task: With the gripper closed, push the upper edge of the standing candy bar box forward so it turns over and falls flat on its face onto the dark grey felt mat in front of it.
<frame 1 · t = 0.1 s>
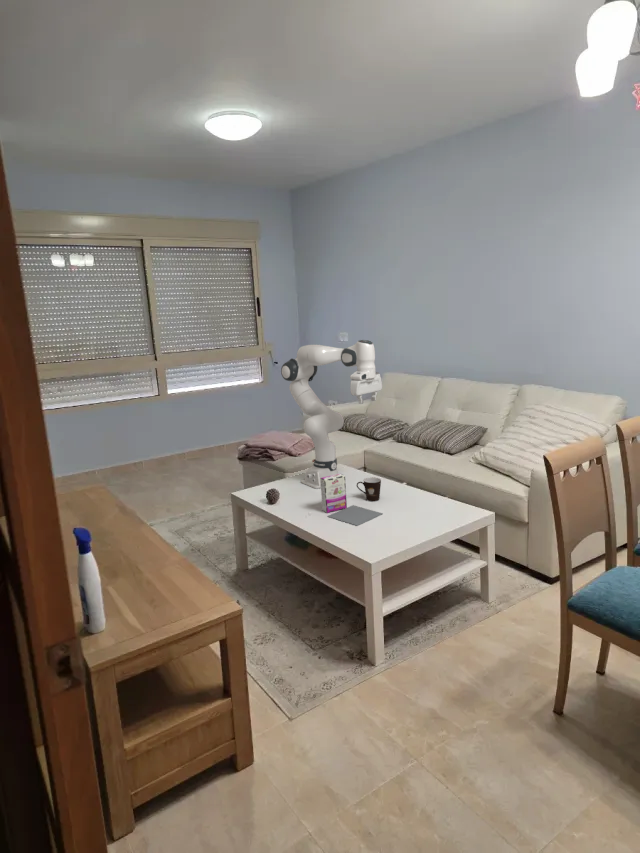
hand: (367, 402, 277), 48 cm above the table, fingers open, 8 cm apart
mat: (355, 515, 261), on the table
coffee mug: (370, 499, 282), on the table
candy bar box: (334, 509, 270), on the table
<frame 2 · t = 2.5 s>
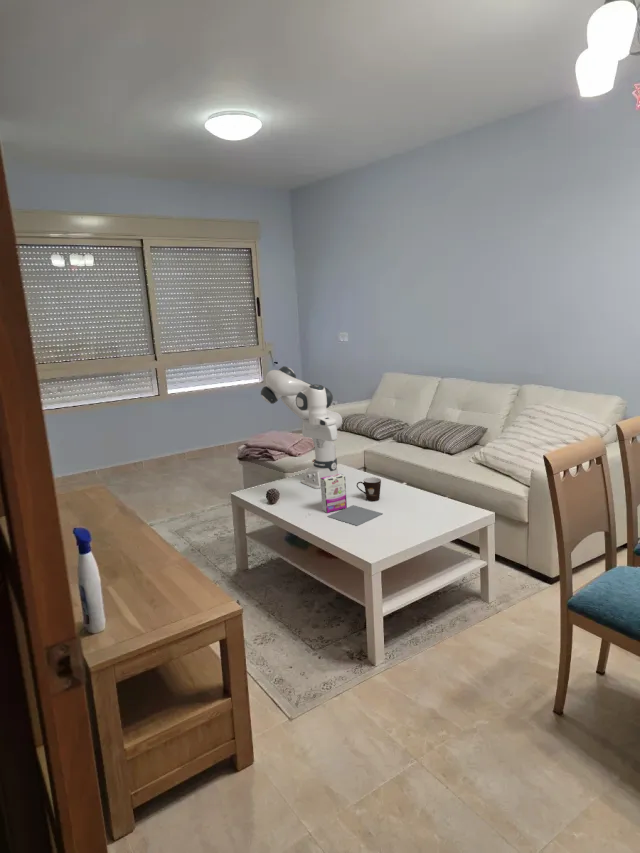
hand: (319, 447, 269), 29 cm above the table, fingers closed
nothing on the table moved.
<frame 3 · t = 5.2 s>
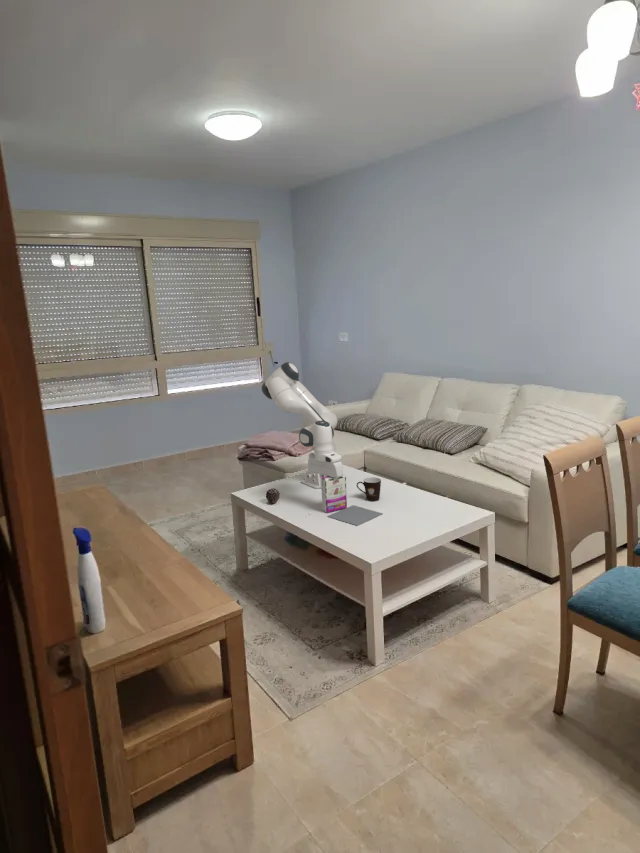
hand: (325, 483, 271), 12 cm above the table, fingers closed
nothing on the table moved.
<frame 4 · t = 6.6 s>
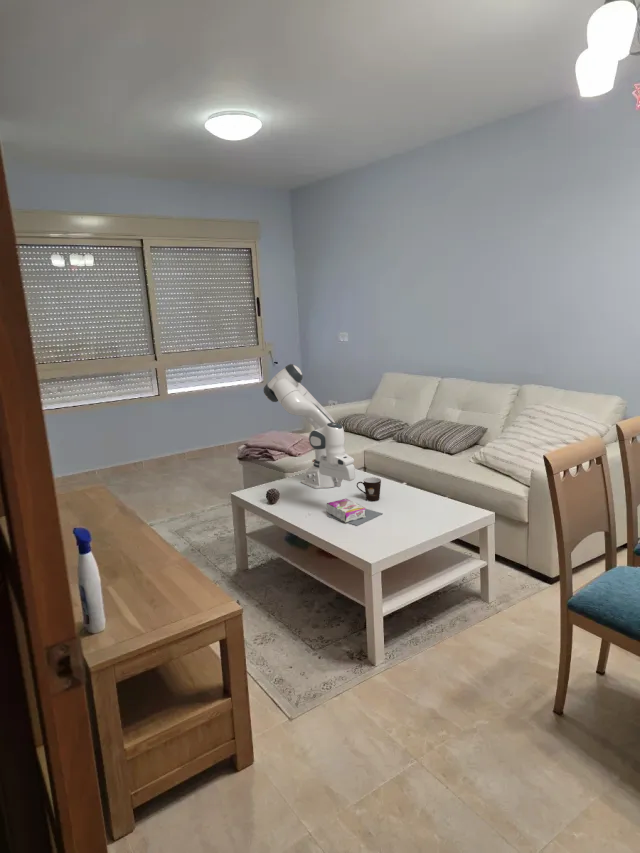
hand: (337, 486, 265), 12 cm above the table, fingers closed
candy bar box: (336, 504, 267), point 3 cm above the table, touching mat
everything else where it was.
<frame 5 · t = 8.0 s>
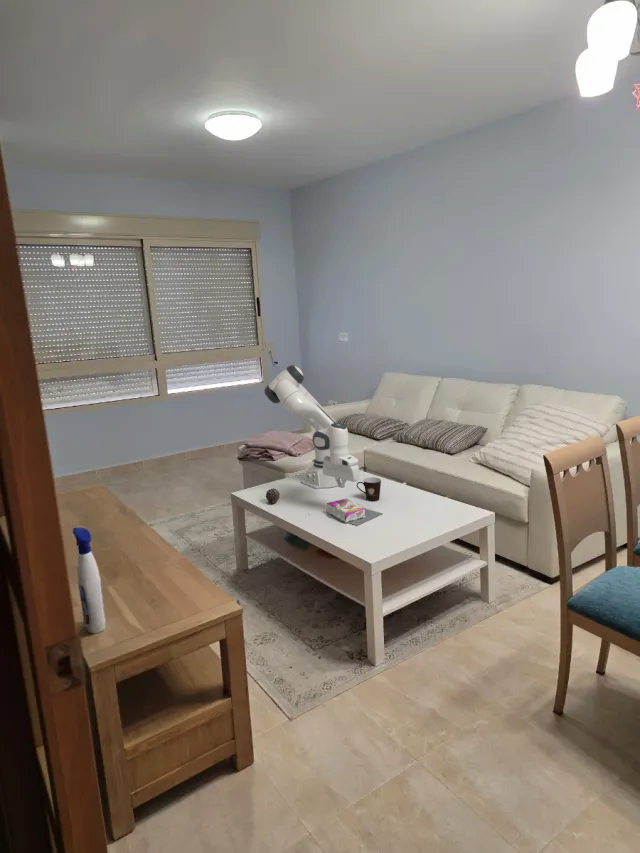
hand: (341, 487, 264), 12 cm above the table, fingers closed
nothing on the table moved.
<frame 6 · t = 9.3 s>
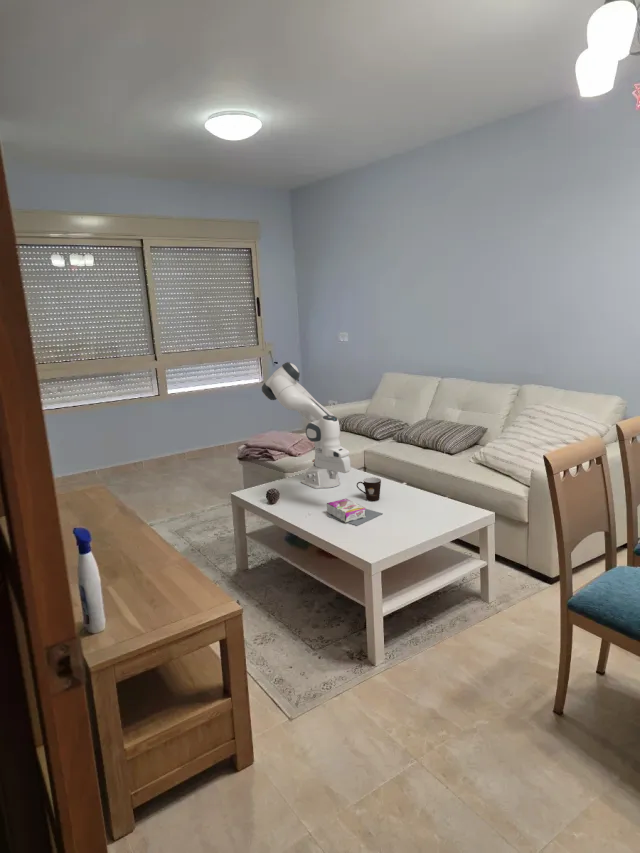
hand: (332, 478, 267), 15 cm above the table, fingers closed
nothing on the table moved.
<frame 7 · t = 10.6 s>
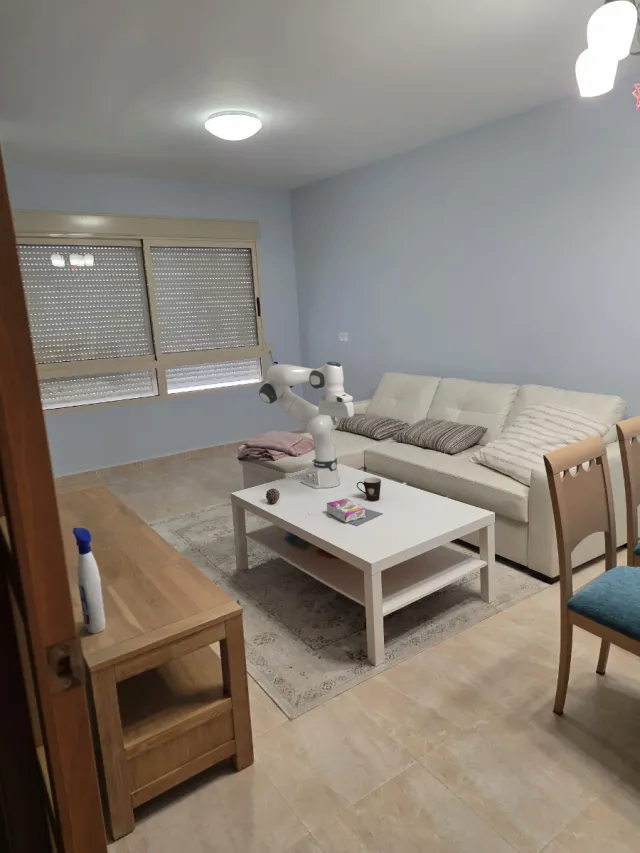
hand: (336, 425, 270), 39 cm above the table, fingers closed
nothing on the table moved.
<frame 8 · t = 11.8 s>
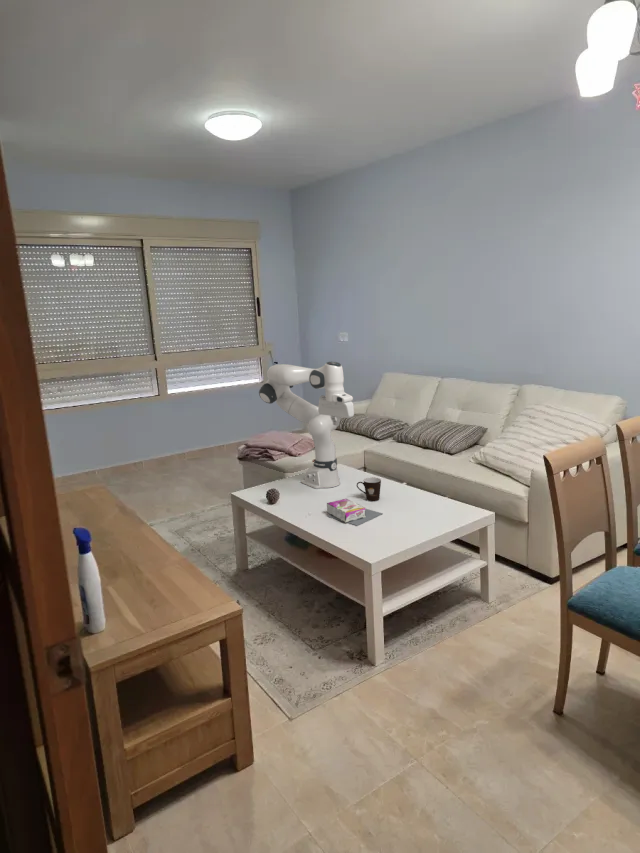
hand: (336, 425, 270), 39 cm above the table, fingers closed
nothing on the table moved.
at the end: candy bar box tilted 91°; candy bar box inside the target area (8.6 cm from its centre), point 2.9 cm above the table; the gripper is holding nothing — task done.
